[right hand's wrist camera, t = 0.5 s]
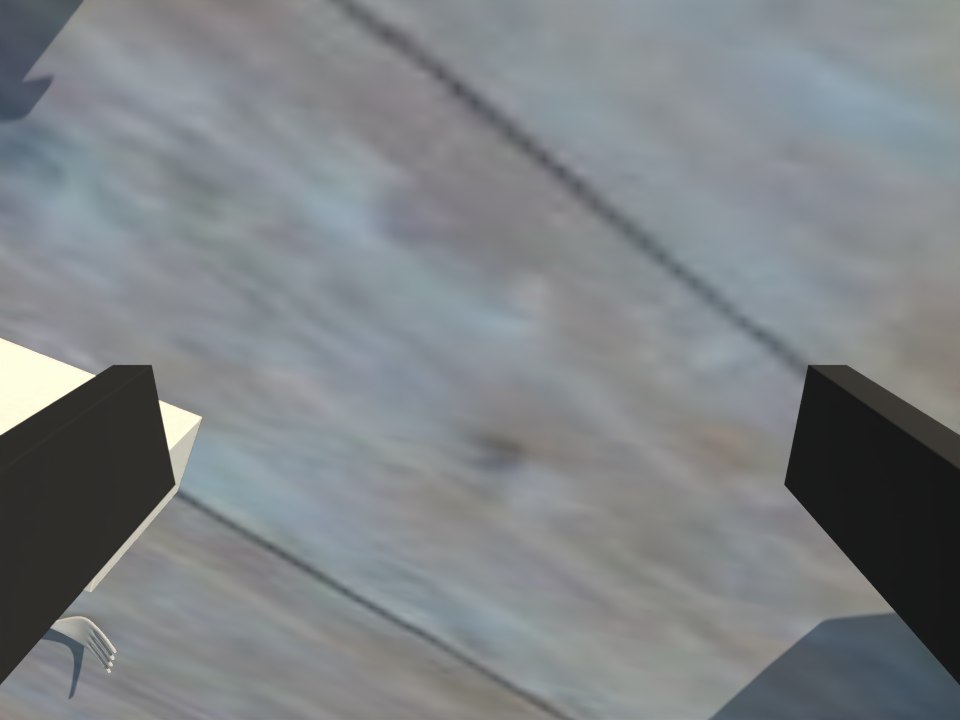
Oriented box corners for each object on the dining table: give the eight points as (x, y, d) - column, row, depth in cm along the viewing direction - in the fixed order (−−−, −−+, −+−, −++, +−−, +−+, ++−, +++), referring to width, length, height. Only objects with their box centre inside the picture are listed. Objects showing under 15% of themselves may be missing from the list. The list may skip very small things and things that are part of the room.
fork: (-87, 563, 44) (-112, 581, 42) (130, 630, 46) (116, 651, 44) (-90, 589, 45) (-115, 609, 43) (124, 654, 47) (109, 675, 45)
